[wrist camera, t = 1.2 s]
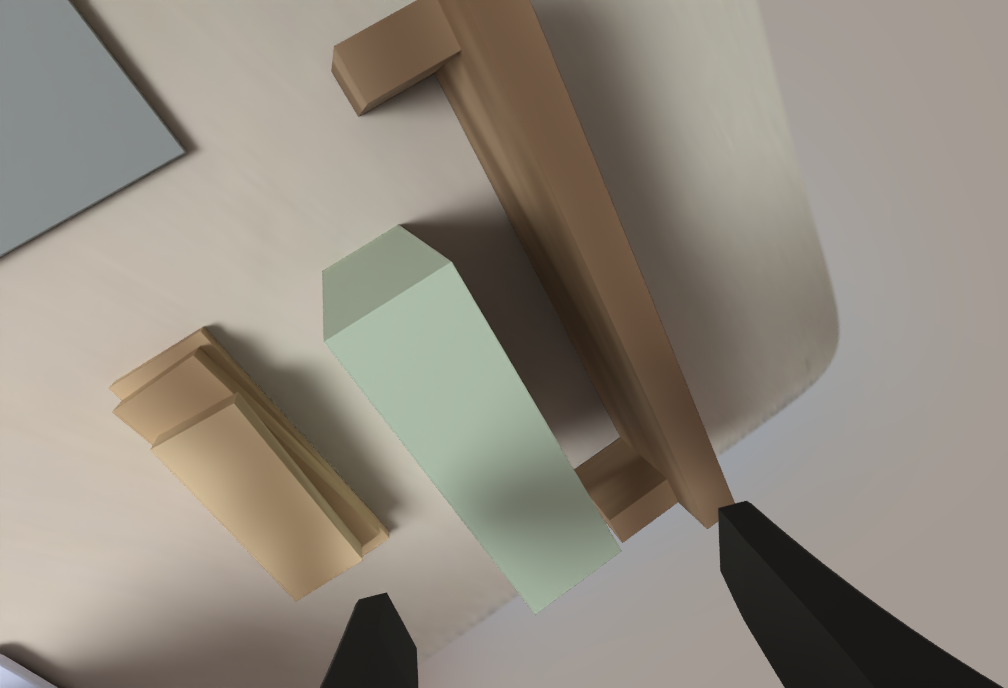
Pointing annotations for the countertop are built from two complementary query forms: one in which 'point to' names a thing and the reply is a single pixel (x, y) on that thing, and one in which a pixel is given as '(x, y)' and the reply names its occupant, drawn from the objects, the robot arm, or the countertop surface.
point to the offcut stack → (247, 464)
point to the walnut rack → (556, 236)
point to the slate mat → (66, 120)
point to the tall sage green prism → (462, 412)
